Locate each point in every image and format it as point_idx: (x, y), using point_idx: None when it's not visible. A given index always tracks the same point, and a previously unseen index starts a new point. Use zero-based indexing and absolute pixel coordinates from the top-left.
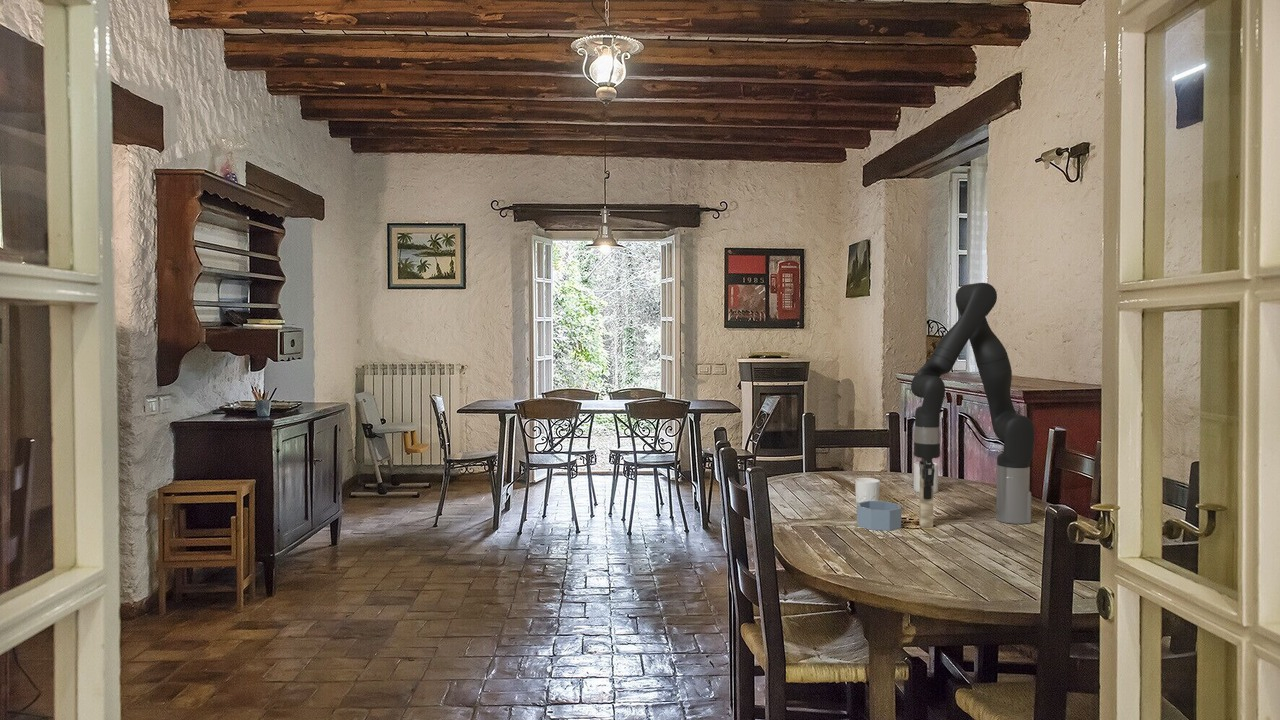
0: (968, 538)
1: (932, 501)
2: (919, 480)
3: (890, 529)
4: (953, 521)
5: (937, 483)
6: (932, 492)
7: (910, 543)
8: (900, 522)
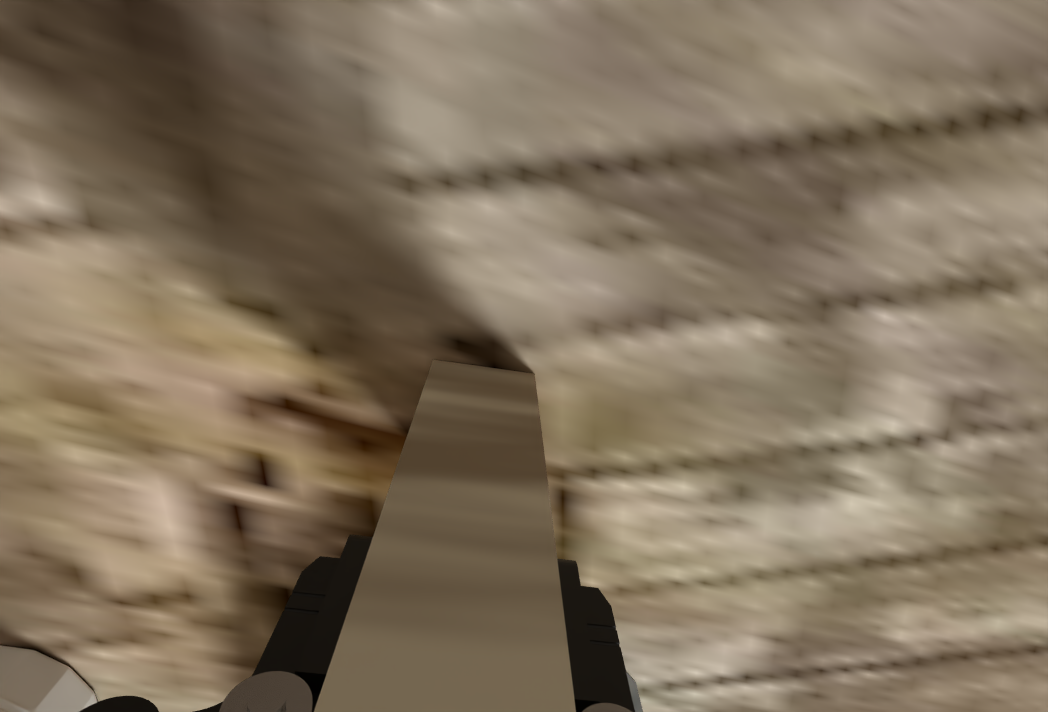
0: (915, 186)
1: (546, 510)
2: None
3: (632, 683)
4: (287, 104)
5: None
6: (559, 600)
7: (955, 632)
8: None
